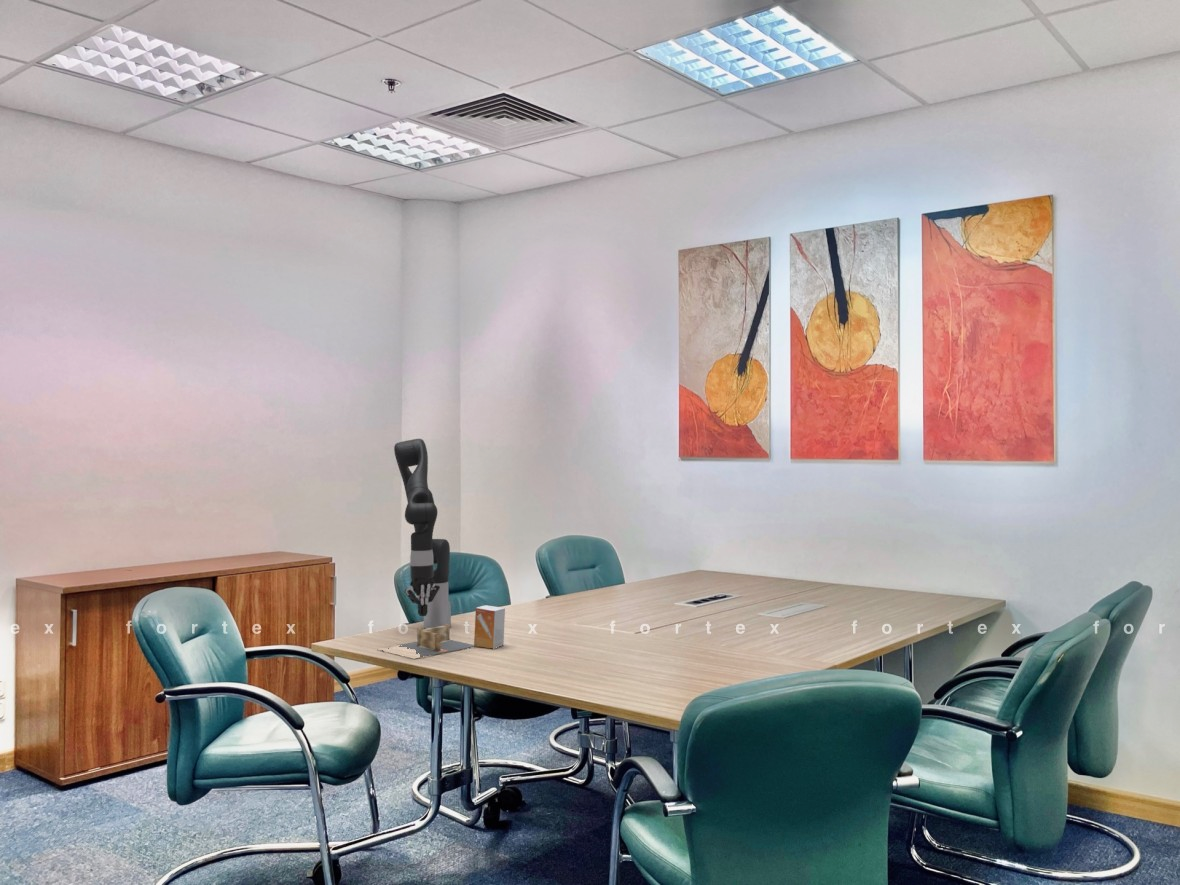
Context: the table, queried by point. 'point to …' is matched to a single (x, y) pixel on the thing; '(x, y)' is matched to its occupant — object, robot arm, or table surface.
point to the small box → (489, 626)
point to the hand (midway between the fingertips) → (422, 615)
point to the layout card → (445, 647)
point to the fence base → (441, 629)
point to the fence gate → (431, 640)
